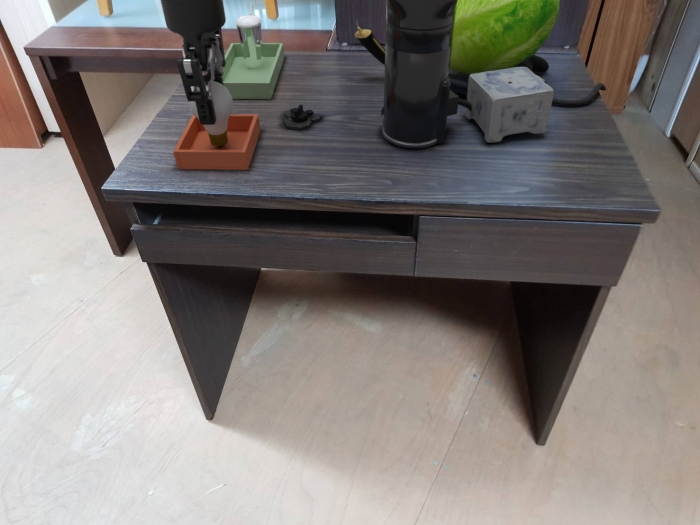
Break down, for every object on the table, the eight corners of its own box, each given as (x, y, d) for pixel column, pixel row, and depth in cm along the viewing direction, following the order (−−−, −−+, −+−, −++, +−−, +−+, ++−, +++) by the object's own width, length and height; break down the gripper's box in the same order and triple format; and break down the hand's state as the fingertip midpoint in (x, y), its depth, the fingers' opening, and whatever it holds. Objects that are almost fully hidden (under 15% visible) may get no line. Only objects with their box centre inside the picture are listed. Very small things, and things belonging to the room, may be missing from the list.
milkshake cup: (269, 59, 107) (263, 5, 100) (263, 70, 103) (256, 15, 96) (246, 59, 107) (238, 5, 101) (239, 70, 103) (231, 14, 97)
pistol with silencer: (488, 46, 83) (495, 93, 92) (357, 17, 95) (375, 60, 104) (475, 68, 82) (483, 113, 92) (344, 36, 94) (363, 78, 103)
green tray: (284, 57, 109) (283, 42, 107) (271, 99, 95) (269, 82, 93) (233, 57, 109) (231, 42, 107) (212, 98, 95) (209, 82, 94)
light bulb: (196, 142, 84) (181, 78, 77) (234, 133, 85) (222, 70, 79) (205, 160, 80) (191, 95, 73) (244, 151, 81) (234, 86, 75)
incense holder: (517, 115, 91) (458, 116, 89) (531, 65, 86) (470, 64, 84) (545, 142, 84) (482, 144, 82) (562, 90, 79) (496, 90, 77)
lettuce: (450, 117, 95) (446, 70, 106) (584, 52, 85) (564, 6, 95) (409, 51, 87) (408, 6, 97) (551, -32, 76) (534, -73, 86)
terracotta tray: (260, 131, 87) (258, 114, 85) (248, 169, 78) (245, 152, 76) (196, 130, 87) (193, 113, 85) (177, 169, 79) (173, 151, 77)
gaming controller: (529, 80, 104) (507, 52, 101) (551, 65, 101) (528, 35, 99) (528, 105, 96) (503, 75, 94) (551, 89, 93) (526, 58, 91)
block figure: (274, 113, 86) (288, 97, 90) (276, 126, 88) (289, 111, 92) (310, 117, 85) (322, 102, 89) (311, 131, 86) (323, 115, 90)
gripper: (205, 5, 62) (229, 138, 73) (231, -30, 73) (248, 90, 84) (140, 5, 62) (174, 137, 74) (175, -30, 73) (200, 90, 84)
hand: (213, 112), depth 79 cm, fingers closed on light bulb, 6 cm apart
